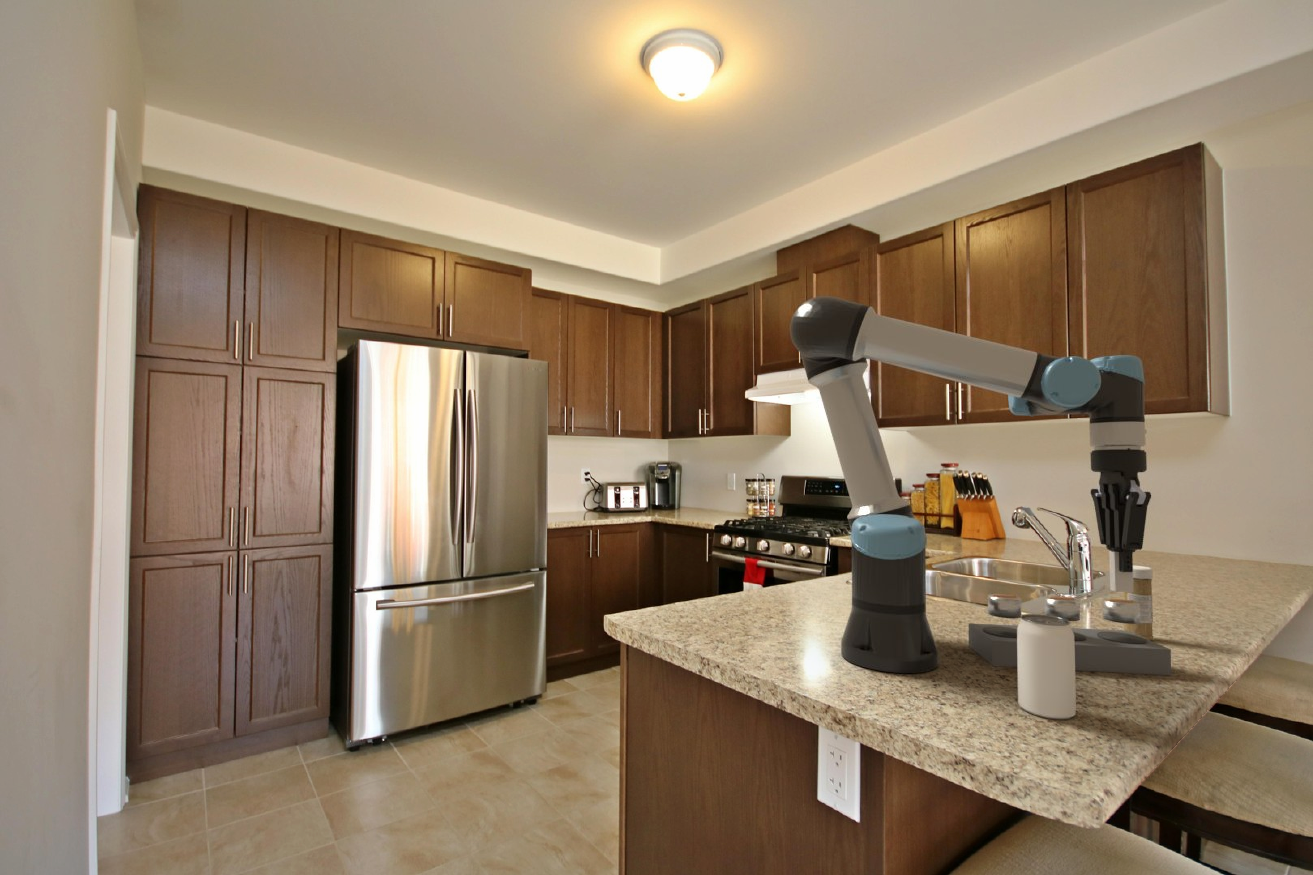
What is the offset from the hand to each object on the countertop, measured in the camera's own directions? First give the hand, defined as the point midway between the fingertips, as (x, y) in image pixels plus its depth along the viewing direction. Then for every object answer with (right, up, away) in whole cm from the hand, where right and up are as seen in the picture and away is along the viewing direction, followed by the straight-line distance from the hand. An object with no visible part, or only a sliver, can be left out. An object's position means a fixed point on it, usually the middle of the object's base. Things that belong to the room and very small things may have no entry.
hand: (1121, 590), depth 103 cm
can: (-26, -11, -21) cm, 35 cm away
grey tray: (-9, -12, +1) cm, 15 cm away
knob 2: (0, -5, 0) cm, 5 cm away
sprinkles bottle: (+14, -13, +15) cm, 24 cm away
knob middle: (-9, -5, +1) cm, 10 cm away
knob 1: (-18, -5, +3) cm, 19 cm away
